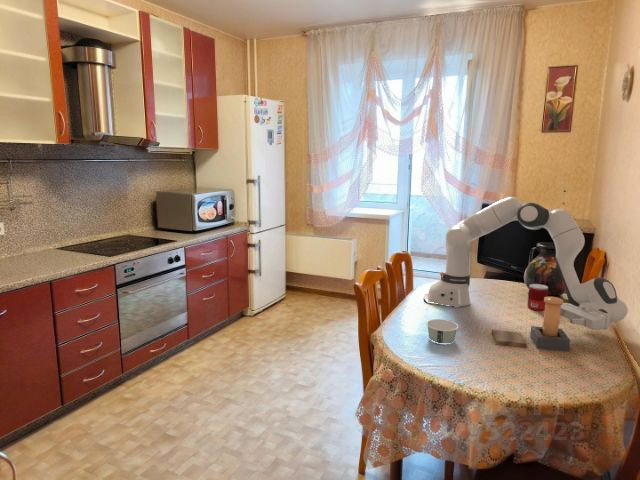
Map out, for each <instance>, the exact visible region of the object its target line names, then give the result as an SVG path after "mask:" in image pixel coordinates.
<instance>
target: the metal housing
mask: <svg viewBox="0 0 640 480" xmlns="http://www.w3.org/2000/svg"><path fill="white" fill-rule="evenodd" d="M542 330H543V326H530V332H529V333H530V334H529V338H530V339H531V341H532V344H533V345H534V346H535V348H536V349H540V350H549V351H559V352H560V351H561V352H570V346H571V339H570V338H569V336H568V335H567V334H566V333H565V331H564V330H563V329H562V328H558V336H557V337H555V336H544V335H542Z"/></svg>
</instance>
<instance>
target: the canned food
mask: <svg viewBox="0 0 640 480" xmlns="http://www.w3.org/2000/svg"><path fill="white" fill-rule="evenodd" d="M528 292H529V295H528V294H527V295H528V298H527V308H528V309H530V310H532V311H537V312H542V311H544V312H545V303H546V302H544V297H547V295H548V287H547V286H545V285H541V284H530V286H529V289H528Z"/></svg>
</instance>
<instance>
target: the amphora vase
mask: <svg viewBox="0 0 640 480" xmlns="http://www.w3.org/2000/svg"><path fill="white" fill-rule="evenodd" d="M535 251H537V256H536V257H535V258H534V259H533V257H534V256H533V254H534V252H535ZM555 255H556V247H555V244H554V242H538V243H536V247H535V246H534V247H532V248H531V250H530V251H529V256H528V257H529V259H528V265H527V267H526V268H525V271H524V274H523V280H524V284H525V286H526V288H527V289H528V290H529V286H530V284H541V285H545V286H547V287H548V295H547V297H557V298H561V299H563V300H564V299H565V297H564V294H565V293H566V294H567V292H566V288H565V285H564V282H563V279H562V277H561V274H560V271H559V268H558V266H557V262H556V258H555ZM527 295H529V291H528V292H527Z"/></svg>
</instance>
